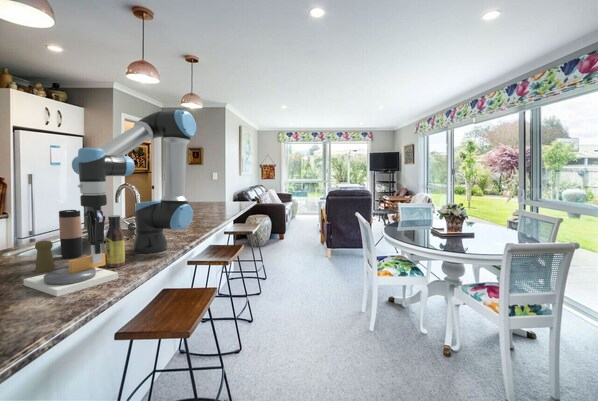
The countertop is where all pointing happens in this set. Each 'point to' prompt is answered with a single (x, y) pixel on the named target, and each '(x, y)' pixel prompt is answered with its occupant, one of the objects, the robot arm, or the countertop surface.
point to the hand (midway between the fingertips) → (97, 262)
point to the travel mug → (70, 234)
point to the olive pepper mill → (44, 256)
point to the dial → (74, 271)
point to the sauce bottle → (115, 243)
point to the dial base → (64, 289)
